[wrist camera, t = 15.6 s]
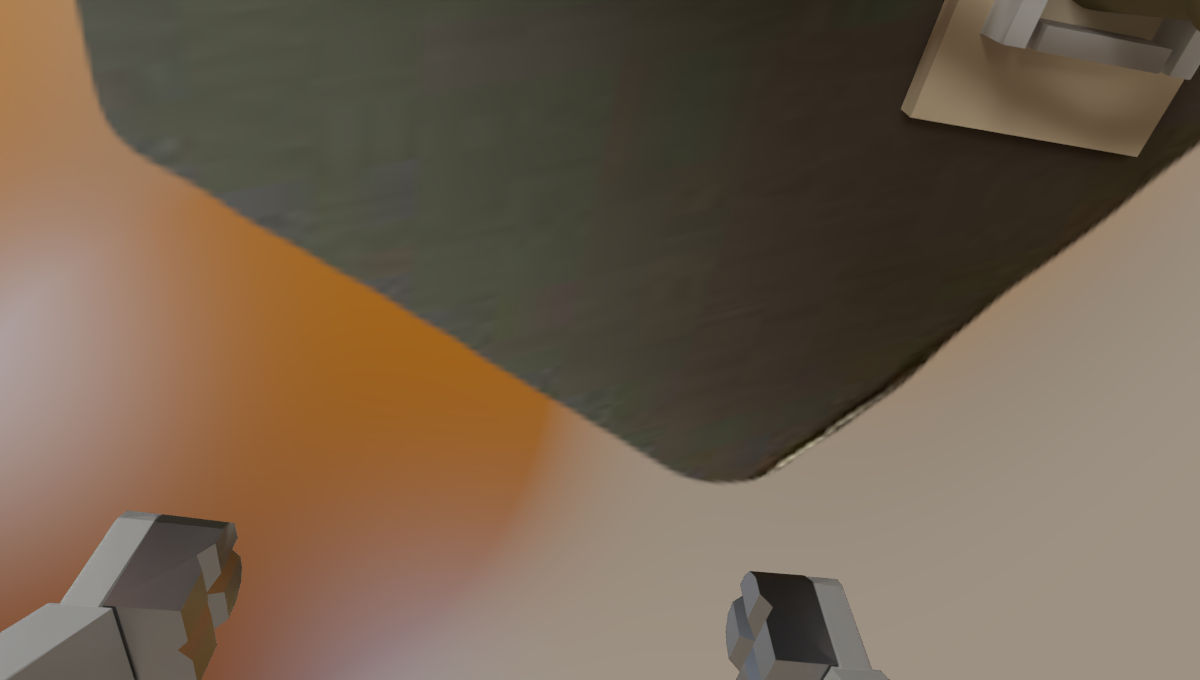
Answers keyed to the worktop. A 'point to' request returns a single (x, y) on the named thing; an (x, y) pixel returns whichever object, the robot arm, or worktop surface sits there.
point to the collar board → (1052, 71)
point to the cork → (1149, 8)
